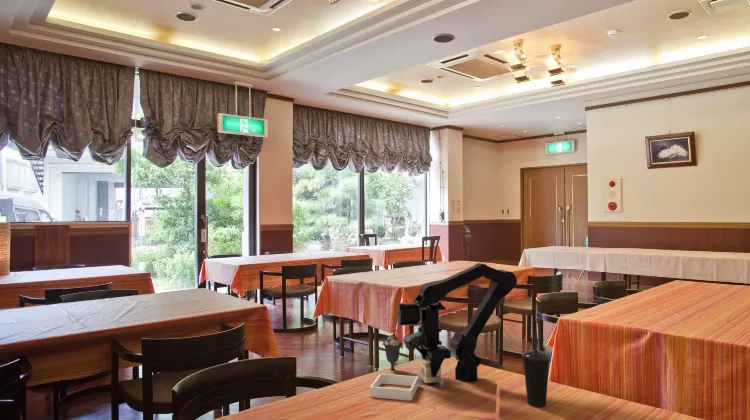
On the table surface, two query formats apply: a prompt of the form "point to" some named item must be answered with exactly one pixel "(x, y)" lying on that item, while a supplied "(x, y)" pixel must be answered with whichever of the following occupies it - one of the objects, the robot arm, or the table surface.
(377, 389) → the bin
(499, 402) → the table surface
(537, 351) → the drinking cup
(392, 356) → the sundae
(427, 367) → the socket block
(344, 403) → the table surface
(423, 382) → the stud plate
